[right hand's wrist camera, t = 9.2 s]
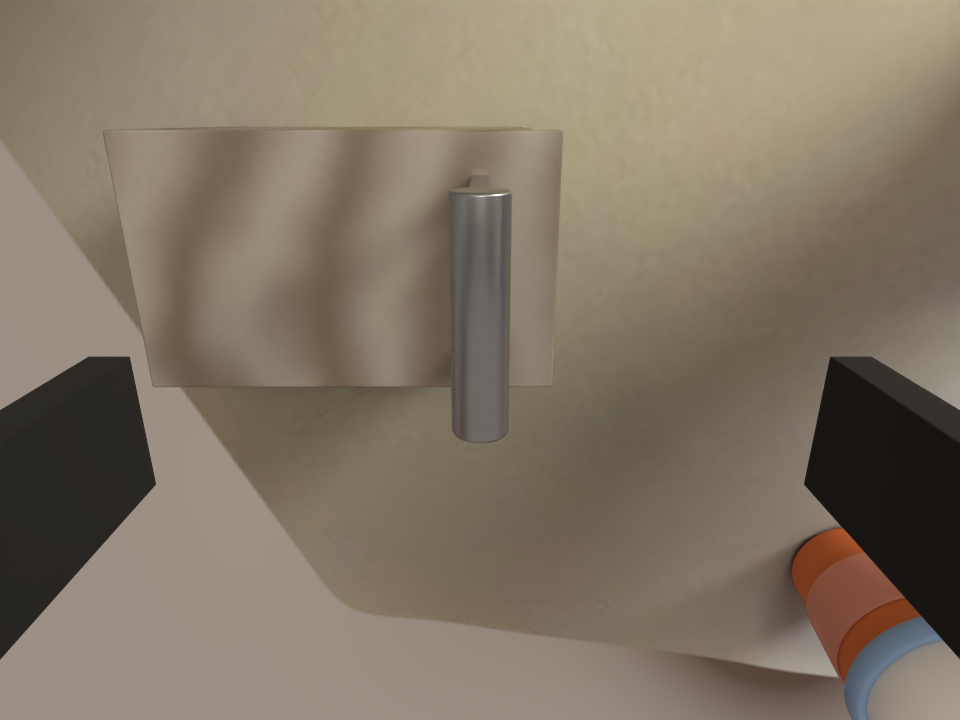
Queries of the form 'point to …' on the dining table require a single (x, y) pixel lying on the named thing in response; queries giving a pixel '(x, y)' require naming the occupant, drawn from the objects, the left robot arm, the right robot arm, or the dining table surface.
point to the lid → (345, 259)
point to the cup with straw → (874, 635)
